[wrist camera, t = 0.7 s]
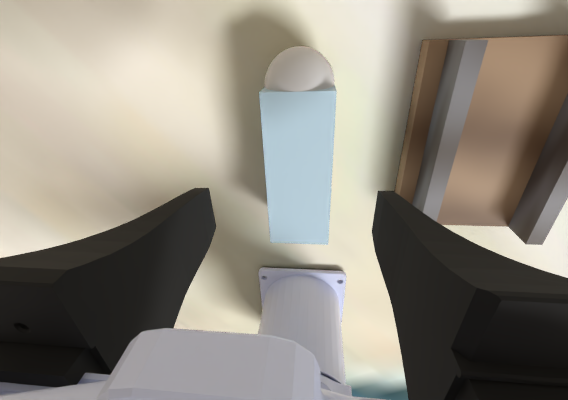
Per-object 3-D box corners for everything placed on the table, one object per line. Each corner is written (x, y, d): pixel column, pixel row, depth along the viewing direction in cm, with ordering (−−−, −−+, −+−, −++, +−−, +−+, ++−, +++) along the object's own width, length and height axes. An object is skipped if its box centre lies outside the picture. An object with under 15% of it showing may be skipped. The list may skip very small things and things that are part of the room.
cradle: (527, 217, 21) (558, 245, 19) (390, 214, 22) (400, 239, 20) (616, 32, 15) (681, 32, 13) (422, 40, 16) (444, 41, 14)
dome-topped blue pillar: (326, 212, 23) (328, 244, 19) (277, 211, 23) (270, 242, 20) (334, 43, 17) (338, 46, 13) (267, 45, 17) (255, 49, 14)
